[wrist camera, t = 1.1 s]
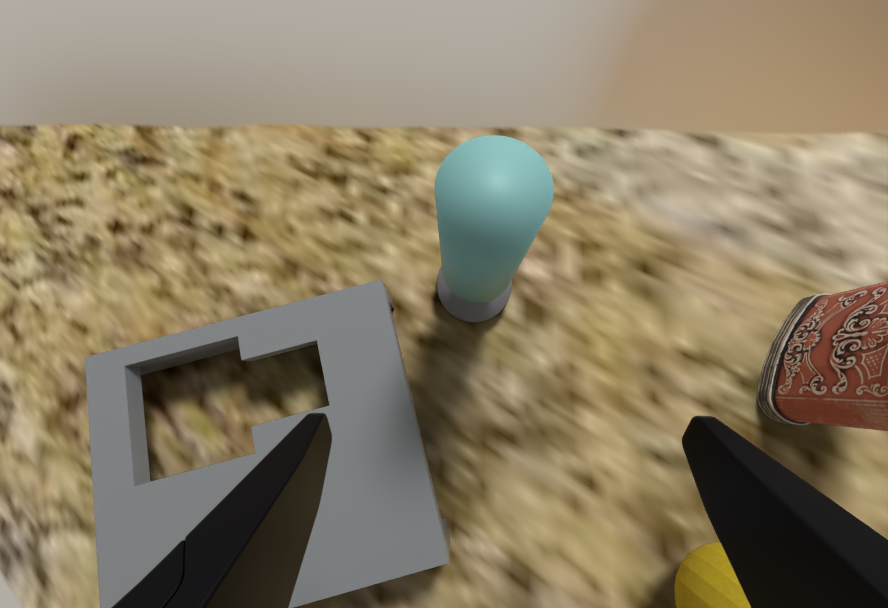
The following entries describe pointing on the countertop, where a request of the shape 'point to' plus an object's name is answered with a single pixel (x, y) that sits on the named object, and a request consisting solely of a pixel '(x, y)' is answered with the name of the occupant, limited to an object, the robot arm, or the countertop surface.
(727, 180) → the countertop surface
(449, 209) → the peg
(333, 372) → the keyhole plate
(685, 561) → the lemon
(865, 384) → the lighter
